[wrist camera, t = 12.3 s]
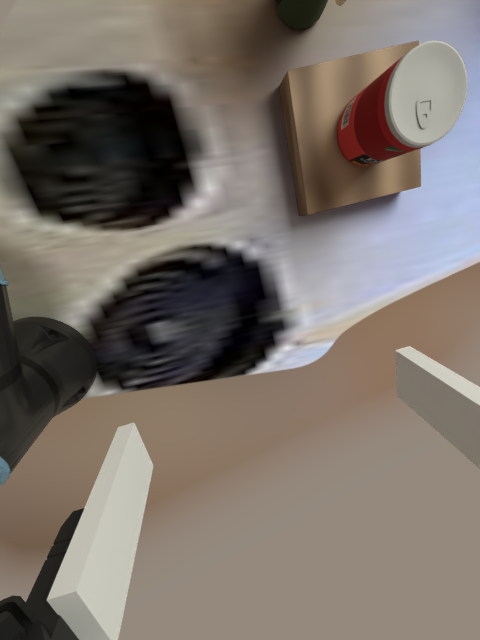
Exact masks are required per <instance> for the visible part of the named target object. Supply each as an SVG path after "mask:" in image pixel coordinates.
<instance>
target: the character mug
mask: <svg viewBox="0 0 480 640" xmlns="http://www.w3.org/2000/svg"><path fill="white" fill-rule="evenodd" d="M327 1H328V0H281V3H280V6H279V8H278V14H279V16H280V17H281V18H282V19H283V21H284V22H285V23H286V24H287V25H289V26H291V27H293V28H295V29H301V28H306V27H309V26H311V25H312V24H313V23H315V22H316V21H317V20H319V18H320V16H321V14H322V12H323V10H324V8H325V6H326V4H327ZM335 1H336V3H337V5H339V6H341V5H343V4H344V2H345V1H346V0H335Z"/></svg>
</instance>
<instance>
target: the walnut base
mask: <svg viewBox="0 0 480 640" xmlns="http://www.w3.org/2000/svg"><path fill="white" fill-rule="evenodd" d="M418 45H419V41H414V42H410V43H406V44H401V45H397V46H393V47H388V48H384V49H380V50H375V51H371V52H367V53H362V54H358V55H354V56H349V57H345V58H341V59H336V60H332V61H328V62H323V63H319V64H315V65H310V66H306V67H302V68H297V69H293V70H289V71H287V73H286V75H285V77H284V78H283V80H282V82H281V84H280V86H279V89H280V96H281V102H282V109H283V115H284V122H285V128H286V135H287V141H288V148H289V154H290V161H291V167H292V174H293V180H294V187H295V193H296V200H297V206H298V213H299V216H301V215H310V214H314V213H318V212H322V211H326V210H330V209H334V208H338V207H342V206H345V205H349V204H353V203H357V202H361V201H365V200H369V199H373V198H377V197H381V196H385V195H389V194H393V193H397V192H401V191H405V190H409V189H413V188H417V187H421V165H420V149H418V150H415V151H412V152H409V153H406V154H403V155H400V156H397V157H394V158H391V159H388V160H385V161H382V162H380V163H377V164H374V165H370V166H358V165H355V164H353V163H351V162H349V161H348V160H347V159H346V158H345V157H344V156H343V155H342V153H341V151H340V148H339V145H338V140H337V129H338V123H339V120H340V117H341V115H342V113H343V111H344V109H345V107H346V106H347V104H348V103H349V102H350V101H351V100H352V99H353V98H354V97H355V96H356V95H358V94H359V93H360V92H361V91H362V90H363V89H365V88H366V87H367V86H368V85H369V84H371V83H372V82H373V81H374V80H375V79H376V78H378V77H379V76H380V75H381V74H382V73H383V72H385V71H386V70H387V69H388V68H389V67H391V66H392V65H393V64H394V63H395V62H396V61H398V60H399V59H400V58H401V57H402V56H404V55H405V54H406V53H407V52H409V51H410V50H412V49H413V48H415V47H417V46H418Z"/></svg>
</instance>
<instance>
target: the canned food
mask: <svg viewBox="0 0 480 640" xmlns="http://www.w3.org/2000/svg"><path fill="white" fill-rule="evenodd" d="M466 93H467V75H466V69H465V66H464V63H463V60H462V59H461V57H460V55H459V53H458V52H457V51H456V50H455V49H454V48H453V47H452V46H450V45H449V44H447V43H445V42H441V41H428V42H425V43H422V44H420V45H418V46H417V47H415V48H413V49H412V50H410V51H409V52H407V53H406V54H405V55H404V56H402V57H401V58H400V59H399V60H398V61H396V62H395V63H394V64H393V65H392V66H391V67H389V68H388V69H387V70H386V71H385V72H383V73H382V74H381V75H380V76H379V77H378V78H376V79H375V80H374V81H373V82H372V83H371V84H369V85H368V86H367V87H366V88H365V89H363V90H362V91H361V92H360V93H359V94H358V95H356V96H355V97H354V98H353V99H352V100H351V101H350V102H349V103H348V104H347V106H346V107H345V109H344V111H343V113H342V115H341V117H340V120H339V123H338V129H337V140H338V145H339V148H340V151H341V153H342V155H343V156H344V157H345V158H346V159H347V160H348V161H349V162H351V163H353V164H355V165H358V166H370V165H374V164H377V163H380V162H382V161H385V160H388V159H391V158H394V157H397V156H400V155H403V154H406V153H409V152H412V151H415V150H418V149H421V148H423V147H426V146H428V145H431V144H432V143H434V142H436V141H438V140H440V139H441V138H443V137H444V136H445V135H446V134H447V133H448V132H449V131H450V130H451V129H452V128H453V126H454V125H455V123H456V122H457V120H458V118H459V116H460V114H461V112H462V110H463V107H464V103H465V100H466Z"/></svg>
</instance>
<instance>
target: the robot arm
mask: <svg viewBox="0 0 480 640" xmlns="http://www.w3.org/2000/svg"><path fill="white" fill-rule="evenodd" d="M6 286H8V282H7V280H5V279H4V276H3V273H2V269H1V265H0V486H1V485H2V484H3V483H5V482H6V481H7V479H8V478H9V476H10V474H11V472H12V471H13V469H14V468H15V466H16V465H17V464H18V463H19V461H20V460H21V458H22V457H23V456H24V455H25V453H26V452H27V451H28V449H29V448H30V447H31V445H32V444H33V443H34V441H35V440H36V439H37V437H38V436H39V435H40V433H41V432H42V431H43V429H44V428H45V427H46V425H47V424H48V423H49V422H50V420H51V419H52V418H53V417H54V416H56V415H58V414H60V413H61V412H63V411H65V410H66V409H68V408H70V407H72V406H73V405H75V404H76V403H77V402H79V401H80V400H81V399H82V398H83V397H84V396H85V394H86V393H87V392H88V390H89V389H90V387H91V386H92V384H93V382H94V380H95V377H96V373H97V362H96V357H95V354H94V352H93V349H92V347H91V346H90V344H89V343H88V341H87V340H86V339H85V338H84V337H83V336H82V335H81V334H80V333H79V332H78V331H76V330H75V329H74V328H72V327H70V326H69V325H67V324H65V323H63V322H60V321H57V320H54V319H50V318H44V317H28V318H22V319H19V320H16V321H13V318H12V313H11V308H10V303H9V298H8V293H7V288H6ZM395 356H396V375H397V393H398V397H399V398H400V399H401V400H402V401H404V402H405V403H406V404H407V405H408V406H409V407H410V408H411V409H413V410H414V411H415V412H416V413H417V414H418V415H419V416H421V417H422V418H423V419H424V420H425V421H426V422H428V423H429V424H430V425H431V426H432V427H433V428H434V429H435V430H437V431H438V432H439V433H440V434H441V435H442V436H443V437H444V438H446V439H447V440H448V441H449V442H450V443H451V444H452V445H453V446H455V447H456V448H457V449H458V450H459V451H460V452H461V453H463V454H464V455H465V456H466V457H467V458H468V459H469V460H470V461H472V462H473V463H474V464H475V465H476V466H477V467H478V468H480V387H478V386H477V385H475V384H473V383H472V382H470V381H468V380H466V379H465V378H463V377H461V376H459V375H458V374H456V373H455V372H453V371H451V370H449V369H448V368H446V367H444V366H442V365H441V364H439V363H437V362H436V361H434V360H432V359H431V358H429V357H427V356H426V355H424V354H422V353H420V352H419V351H417V350H415V349H414V348H412V347H410V346H409V347H405V348H402V349H398V350H395ZM152 470H153V464H152V462H151V460H150V457H149V455H148V453H147V450H146V448H145V446H144V444H143V441H142V439H141V437H140V435H139V432H138V430H137V428H136V425H135V423H131V424H128V425H124V426H121V427H118V429H117V431H116V434H115V436H114V439H113V441H112V443H111V446H110V448H109V451H108V453H107V456H106V458H105V460H104V463H103V465H102V468H101V470H100V473H99V475H98V477H97V480H96V482H95V485H94V487H93V489H92V492H91V494H90V497H89V499H88V501H87V504H86V506H85V508H84V509H80V510H77V511H73V512H72V514H71V515H70V516H69V518H68V519H67V520H66V521H65V523H64V524H63V525H62V527H61V528H60V531H59V533H58V535H57V537H56V539H55V541H54V546H52V548H51V550H50V552H49V554H48V556H47V560H46V561H45V563H44V565H43V567H42V569H41V571H40V574H39V576H38V578H37V580H36V582H35V584H34V586H33V588H32V591H31V593H30V595H29V597H28V599H27V601H26V603H25V601H24V600H23V599H22V598H21V597H20V596H11V597H8V598H6V599H3V600H2V601H0V640H118V637H119V632H120V628H121V622H122V618H123V613H124V608H125V603H126V598H127V593H128V588H129V583H130V578H131V573H132V569H133V564H134V559H135V554H136V549H137V544H138V539H139V534H140V529H141V524H142V519H143V515H144V510H145V505H146V499H147V495H148V490H149V485H150V480H151V475H152Z"/></svg>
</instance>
